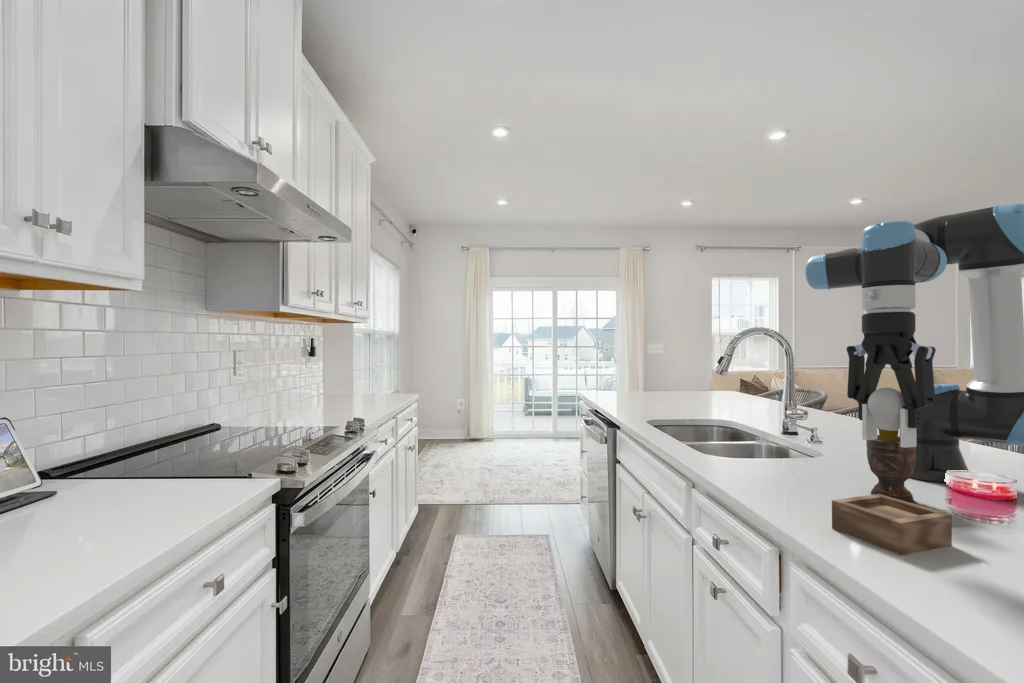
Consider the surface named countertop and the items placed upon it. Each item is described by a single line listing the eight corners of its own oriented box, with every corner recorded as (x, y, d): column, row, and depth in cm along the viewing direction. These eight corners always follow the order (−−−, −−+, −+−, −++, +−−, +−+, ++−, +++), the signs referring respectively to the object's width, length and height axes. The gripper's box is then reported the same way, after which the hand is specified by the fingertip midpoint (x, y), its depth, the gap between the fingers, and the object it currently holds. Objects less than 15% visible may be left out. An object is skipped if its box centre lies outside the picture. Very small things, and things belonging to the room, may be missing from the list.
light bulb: (901, 442, 88) (901, 386, 88) (916, 449, 82) (916, 389, 82) (862, 440, 90) (862, 385, 90) (874, 446, 84) (874, 388, 84)
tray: (879, 520, 94) (879, 493, 94) (951, 545, 82) (951, 514, 82) (831, 528, 90) (831, 500, 90) (900, 555, 79) (900, 523, 79)
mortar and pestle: (923, 511, 99) (923, 412, 99) (870, 504, 103) (870, 409, 103) (912, 495, 109) (911, 405, 109) (864, 489, 113) (864, 403, 113)
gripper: (823, 314, 94) (823, 434, 94) (933, 307, 76) (933, 456, 76) (852, 314, 96) (852, 432, 96) (965, 308, 78) (966, 452, 78)
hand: (888, 442), depth 86 cm, fingers closed on light bulb, 6 cm apart
